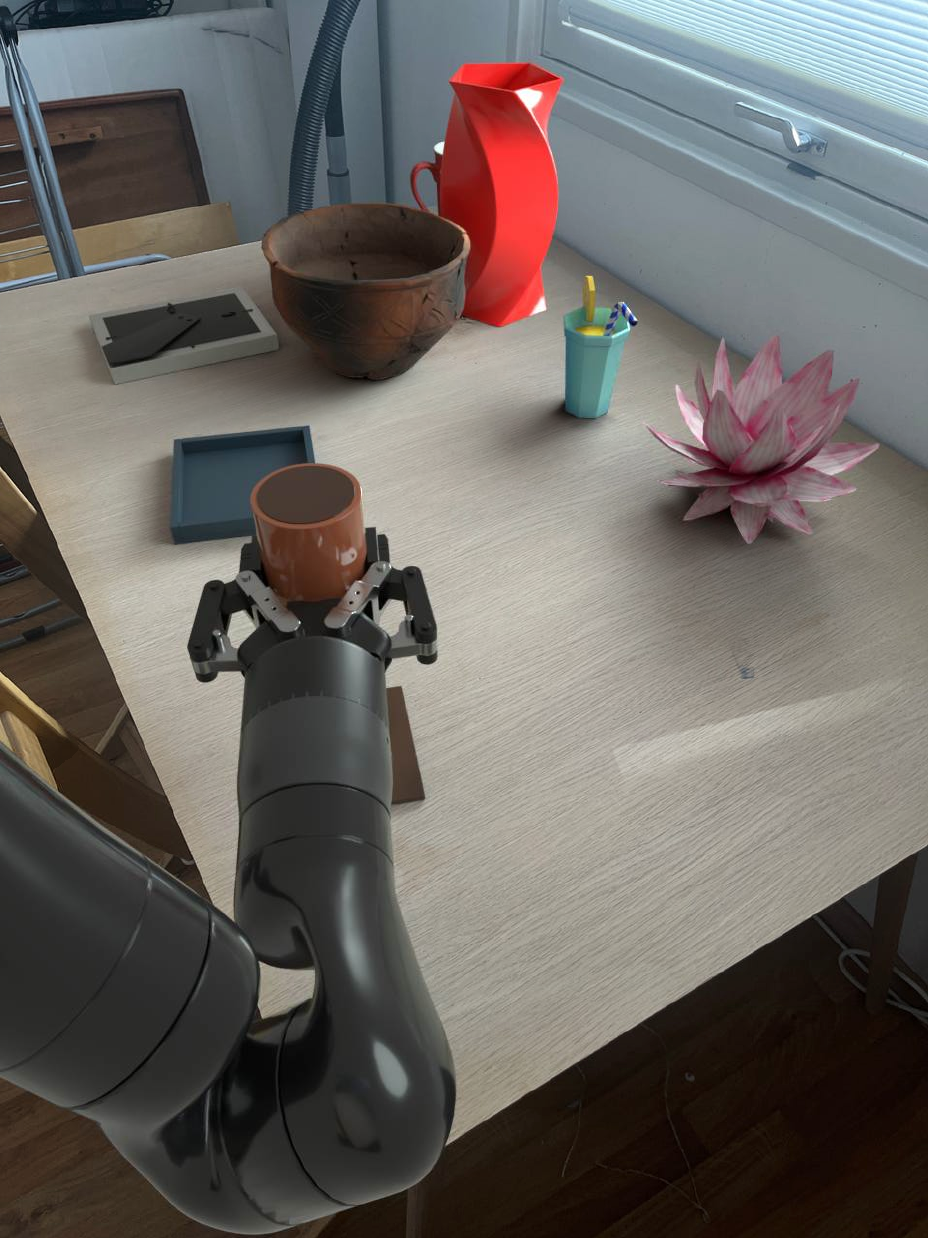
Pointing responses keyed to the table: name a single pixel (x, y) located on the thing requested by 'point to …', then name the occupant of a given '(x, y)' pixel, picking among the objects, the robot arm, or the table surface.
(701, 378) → the decorative flower
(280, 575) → the tumbler
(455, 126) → the vase
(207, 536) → the tray
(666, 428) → the table surface
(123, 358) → the picture frame
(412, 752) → the coaster
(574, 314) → the cup
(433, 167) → the mug
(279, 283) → the bowl
